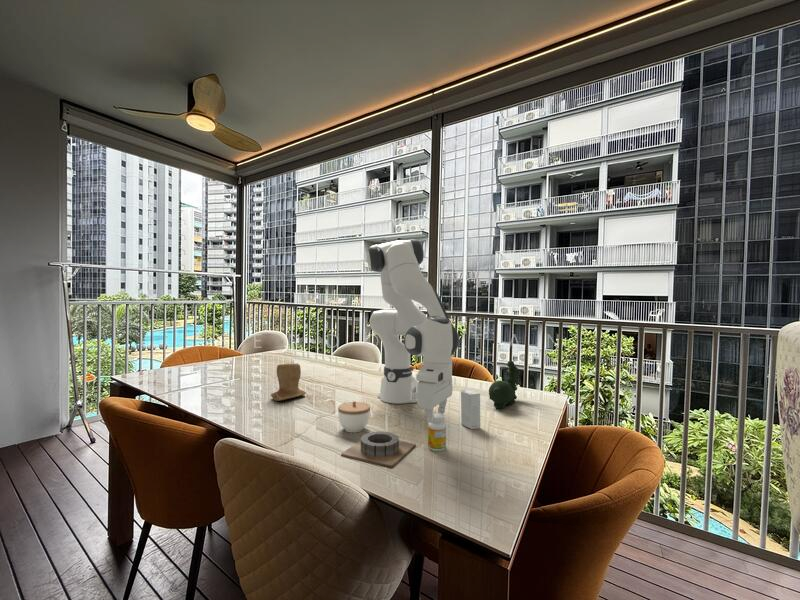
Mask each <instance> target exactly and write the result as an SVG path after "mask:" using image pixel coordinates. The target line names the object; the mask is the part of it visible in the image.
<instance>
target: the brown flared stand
mask: <svg viewBox="0 0 800 600" xmlns="http://www.w3.org/2000/svg"><path fill="white" fill-rule="evenodd" d="M301 372H302V371H301V365H300V364H299V363H280V364H278V365H277V366H276V377H277V382H278V386H279V387H278V390H277V391H275V392H273V393H271V394H270V396H271V398H272V399H273V401H275V402H279V401H285V400H286V401H287V400H289V399H293V398H296V397H300V396H304V395H306V394H307V392H306V391H305V390H302V389H300V388H299V383H300V380H301V374H302V373H301Z"/></svg>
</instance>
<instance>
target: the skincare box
mask: <svg viewBox="0 0 800 600" xmlns="http://www.w3.org/2000/svg"><path fill="white" fill-rule="evenodd" d="M460 412H461V413H460V414H461V415H460V417H461V421H460V422H461V425H462V426H464V427H466V428H468V429H470V430H475V429H476V430H477V429H481V393H479V392H477V391H474V390H472V389H466V390H461V391H460Z"/></svg>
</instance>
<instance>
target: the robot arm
mask: <svg viewBox="0 0 800 600" xmlns="http://www.w3.org/2000/svg"><path fill="white" fill-rule="evenodd" d="M424 256H425V251H424V247H423V245H422V243H421V242H420V241H419V240H418V239H411V238H410V239H407V240H406V239H404V240H403V239H402V240H399V239H398V240H393V241H389V242H384V243H380V244H377V243H376V244H374V245H373V244H372V245H371V246H369V248H367V253H366V263H367V265H368V267H369V269H370V270H371V271H372V272H375V273H380V284H381V291H382V293H381V294H382V298H383V300H384V301H385V303H387V304H389V305H390V306H392V307H393V308H394V309H380V310H375V311H374V312H372V314H371V316H370V318H369V326H370V329H371V330H372V331H373V332H374V333H375V334H376V336H378V338H379V339H380V340H381V342H382V345H383V349H384V366H383V377H381V381H380V388H379V389H380V390H379V393H378V394H377V398H379V399H380V401H382V402H385V403H389V404H409V403H417V407H418V408H419V410H422V411H423V410H424V413H425V416H426V422H427V423H428V424H429V423H432V422H433V421H434V415H433V414H434V408H436V406H438V408H437V412H438V413H437V414H442V415H444V414H445V413H446V406H447V403H448V399H449V397H452V395H453V357H452V356H453V355H454V353H455V352H456V351H457V350H458V347H459V345H460V342H461V341H460V340H461V339H460V335H459V332H458V330H457V329H456V328H455V326H454V325H453V324H452V322H451V320H450V317H449V315H448V314H447V311H446V309H445V306H444V305H443V303H442V300H441V298H440V296H439V293H438V292H437V290H436V289H435V287H434V286H433V285H432V283H429V281H427V279H426V278H425V276H424V274H423V273H422V270H421V268H420V265H421V264H422V263H423V262H424ZM413 301H414V302H417V303H419V304H420V305H422V306H423V307H424V308H425V309H426V311H427V313H428V315H429V316H427V315H426V314H425V313H424V312H423V311H422V310H420V309H419V308H418V307H417V306H416V305H415V303H414V302H413ZM399 336H404V338H403V339H404V342H402V341H401V339H400V338H399ZM411 356H414V357H415V356H416V357H422V365H421V367H420V369H419V370H418V371H417V372H416V376H415V377H416V378H415V377H414V376H413V371H414V370H415V366H414V365H412V366H411Z"/></svg>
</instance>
